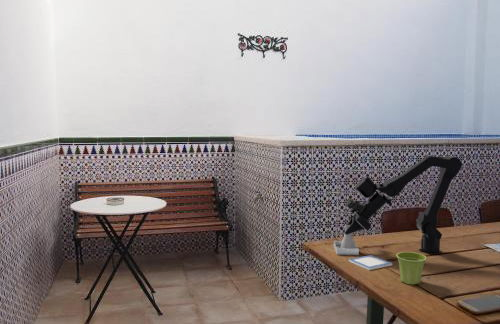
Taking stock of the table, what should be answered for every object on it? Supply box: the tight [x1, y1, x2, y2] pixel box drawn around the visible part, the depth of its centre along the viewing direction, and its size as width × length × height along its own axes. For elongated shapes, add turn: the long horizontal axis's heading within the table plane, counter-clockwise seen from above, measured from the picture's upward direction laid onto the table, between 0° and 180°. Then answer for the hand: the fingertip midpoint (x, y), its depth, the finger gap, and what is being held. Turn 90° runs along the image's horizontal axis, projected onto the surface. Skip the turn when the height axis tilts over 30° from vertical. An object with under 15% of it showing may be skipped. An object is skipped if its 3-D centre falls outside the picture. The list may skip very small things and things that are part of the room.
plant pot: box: [396, 251, 427, 286], centre depth 154 cm, size 9×9×9 cm
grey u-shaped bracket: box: [333, 240, 360, 256], centre depth 189 cm, size 8×11×3 cm
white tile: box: [348, 254, 393, 271], centre depth 173 cm, size 11×11×1 cm
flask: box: [339, 224, 358, 248], centre depth 189 cm, size 7×7×10 cm
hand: (344, 232), depth 189 cm, fingers closed on flask, 3 cm apart
